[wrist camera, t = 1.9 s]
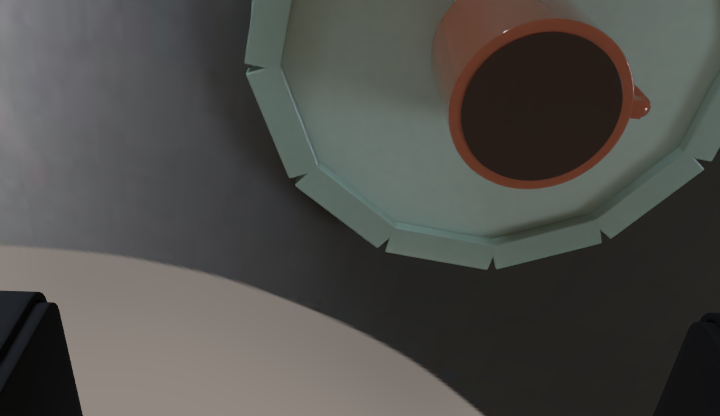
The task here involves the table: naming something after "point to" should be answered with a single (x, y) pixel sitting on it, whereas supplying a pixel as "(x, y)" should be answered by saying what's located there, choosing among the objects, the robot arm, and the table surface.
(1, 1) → the table surface
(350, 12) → the plate
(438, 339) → the table surface
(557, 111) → the espresso cup
